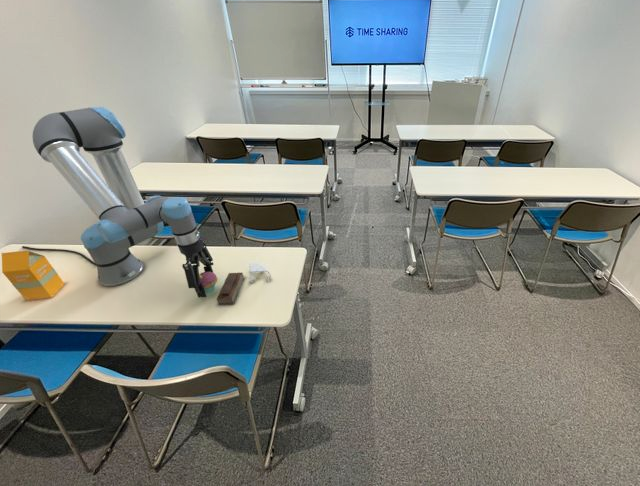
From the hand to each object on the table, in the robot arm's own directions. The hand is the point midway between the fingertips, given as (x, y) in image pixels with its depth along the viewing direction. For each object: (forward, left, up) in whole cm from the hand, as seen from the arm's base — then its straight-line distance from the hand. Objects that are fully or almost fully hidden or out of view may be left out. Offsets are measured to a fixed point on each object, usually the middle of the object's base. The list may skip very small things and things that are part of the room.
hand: (207, 287), depth 113 cm
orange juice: (-65, +4, -2) cm, 65 cm away
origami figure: (+18, +7, -3) cm, 20 cm away
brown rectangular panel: (+9, 0, -2) cm, 9 cm away
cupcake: (0, 0, -1) cm, 1 cm away
